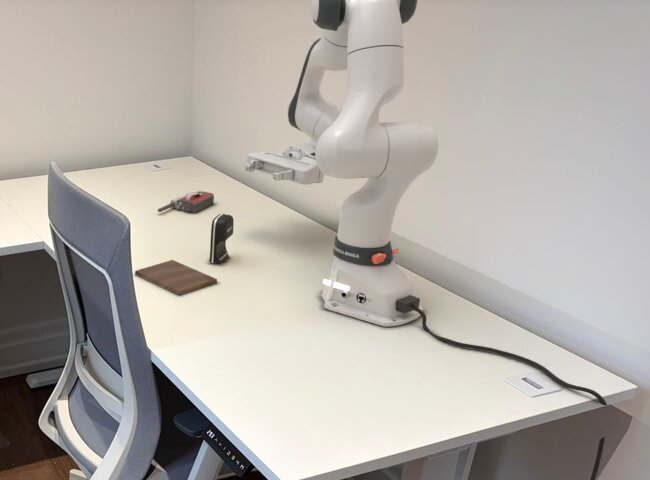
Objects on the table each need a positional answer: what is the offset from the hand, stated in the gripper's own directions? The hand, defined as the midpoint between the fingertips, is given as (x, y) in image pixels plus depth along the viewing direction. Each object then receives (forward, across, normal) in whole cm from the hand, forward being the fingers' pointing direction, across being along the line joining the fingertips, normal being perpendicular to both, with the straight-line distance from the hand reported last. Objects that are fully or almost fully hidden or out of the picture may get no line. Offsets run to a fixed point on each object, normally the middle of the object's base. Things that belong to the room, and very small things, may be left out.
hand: (260, 172), depth 210 cm
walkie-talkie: (-9, -36, +21) cm, 42 cm away
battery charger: (+12, 0, +20) cm, 24 cm away
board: (+29, +2, +20) cm, 35 cm away
